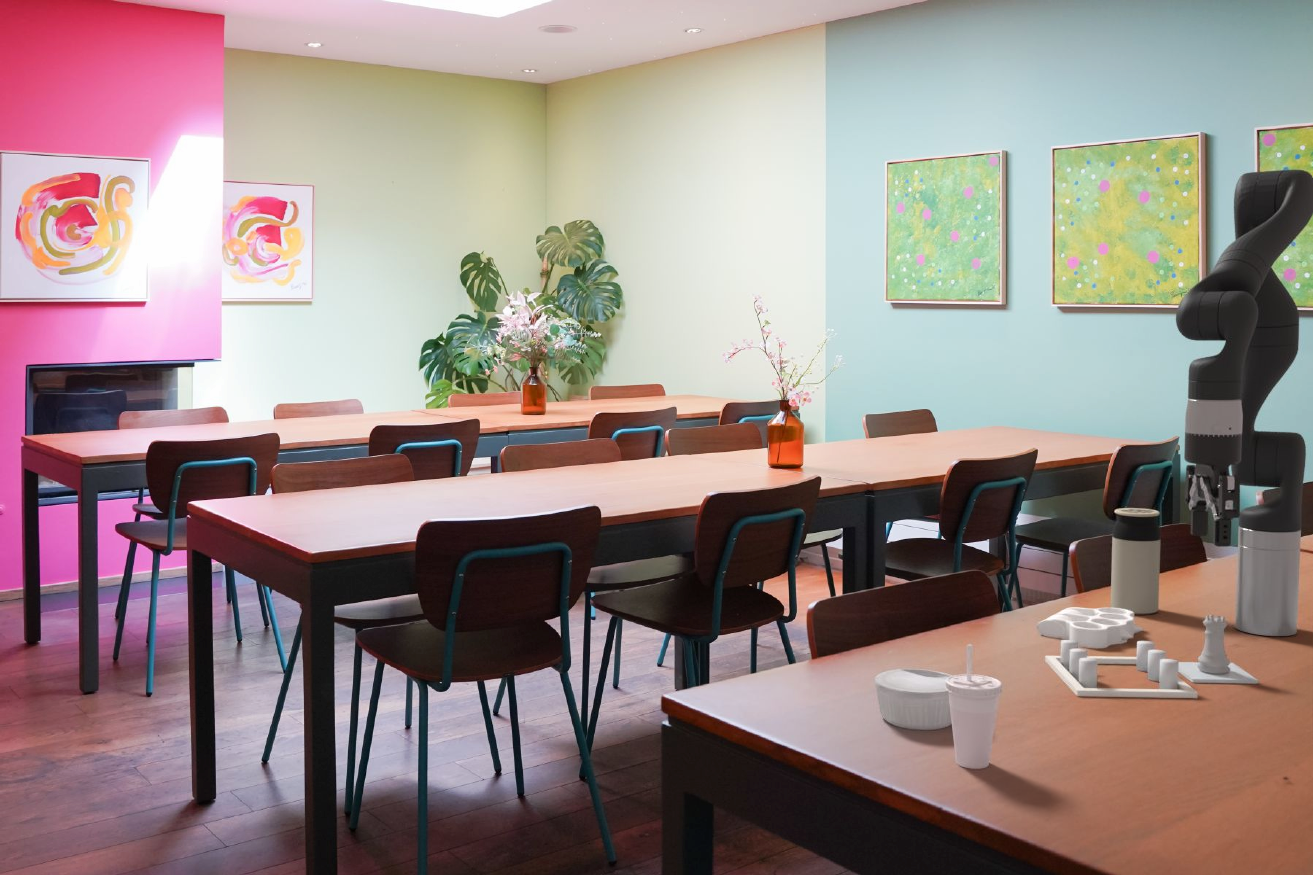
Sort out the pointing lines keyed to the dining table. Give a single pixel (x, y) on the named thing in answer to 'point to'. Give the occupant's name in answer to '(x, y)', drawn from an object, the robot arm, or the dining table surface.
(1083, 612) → the white holed part
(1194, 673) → the tile
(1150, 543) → the travel mug
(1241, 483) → the robot arm
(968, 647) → the smoothie
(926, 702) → the ramekin
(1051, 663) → the frame
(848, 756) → the dining table surface
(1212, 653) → the rook chess piece
